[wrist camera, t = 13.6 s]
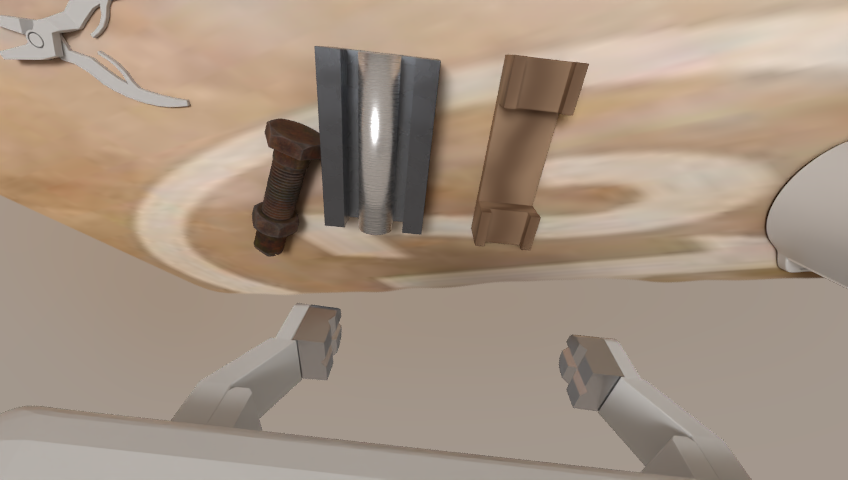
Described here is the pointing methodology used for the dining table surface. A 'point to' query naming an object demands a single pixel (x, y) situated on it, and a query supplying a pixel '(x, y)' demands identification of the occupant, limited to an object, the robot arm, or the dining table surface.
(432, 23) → the dining table surface
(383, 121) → the axle
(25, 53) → the pliers
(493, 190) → the beam
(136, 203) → the dining table surface
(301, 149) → the bolt
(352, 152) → the v block
